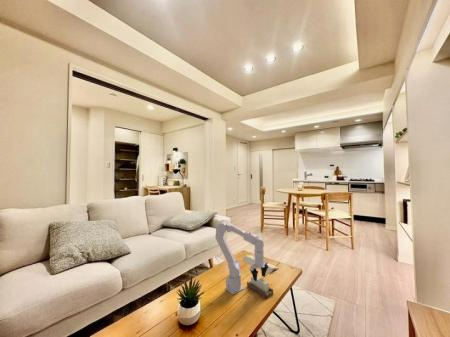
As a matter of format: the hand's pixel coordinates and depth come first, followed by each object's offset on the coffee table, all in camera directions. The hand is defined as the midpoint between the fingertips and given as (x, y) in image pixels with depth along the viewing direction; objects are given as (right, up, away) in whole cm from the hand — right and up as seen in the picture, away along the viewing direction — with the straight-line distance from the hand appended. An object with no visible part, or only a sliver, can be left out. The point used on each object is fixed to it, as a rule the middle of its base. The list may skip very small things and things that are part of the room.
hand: (259, 278), depth 120 cm
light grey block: (0, -7, 0) cm, 7 cm away
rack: (0, -7, 0) cm, 7 cm away
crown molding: (+6, -9, +33) cm, 35 cm away
